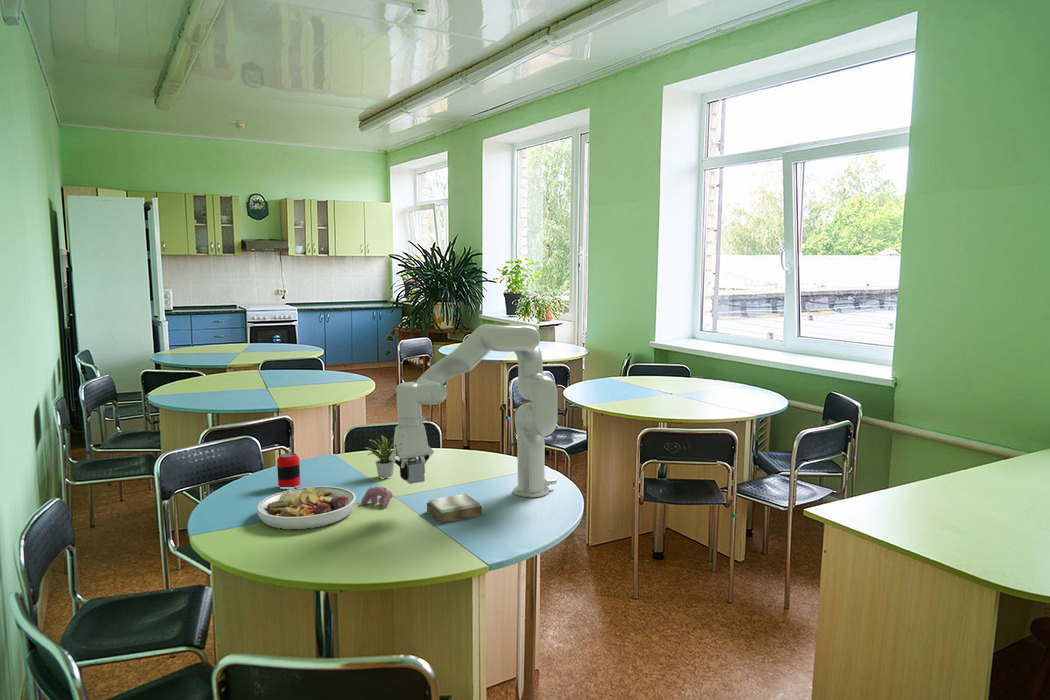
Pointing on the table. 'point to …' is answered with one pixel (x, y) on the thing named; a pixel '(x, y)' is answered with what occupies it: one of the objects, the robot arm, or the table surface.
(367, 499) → the video game controller
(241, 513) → the table surface
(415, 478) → the block
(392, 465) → the house plant
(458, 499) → the stand
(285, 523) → the bowl
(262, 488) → the table surface
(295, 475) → the soda can
